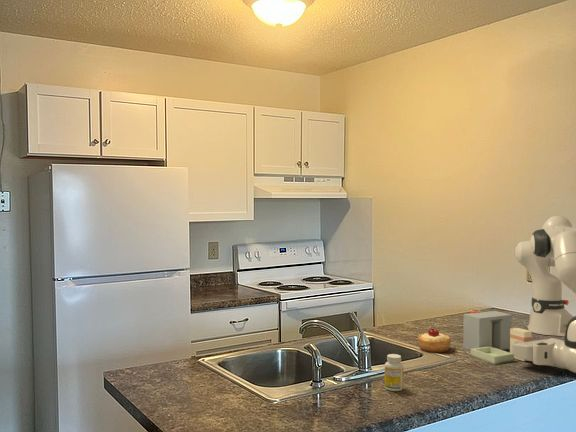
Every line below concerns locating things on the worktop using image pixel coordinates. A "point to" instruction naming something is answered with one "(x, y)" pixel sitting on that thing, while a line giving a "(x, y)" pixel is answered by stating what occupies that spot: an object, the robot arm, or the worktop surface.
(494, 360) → the tray
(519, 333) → the pink striped block
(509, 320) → the dispenser
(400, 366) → the supplement bottle
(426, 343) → the pastry
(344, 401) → the worktop surface
